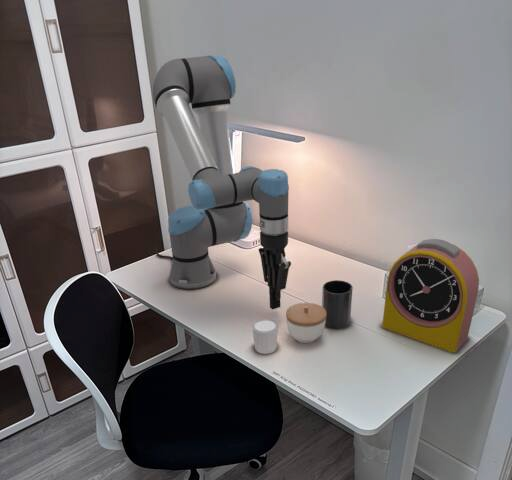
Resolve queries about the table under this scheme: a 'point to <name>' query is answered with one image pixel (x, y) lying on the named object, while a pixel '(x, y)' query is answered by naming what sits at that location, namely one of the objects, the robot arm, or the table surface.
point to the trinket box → (306, 321)
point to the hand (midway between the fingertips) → (275, 307)
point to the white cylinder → (265, 335)
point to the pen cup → (337, 303)
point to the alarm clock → (432, 294)
